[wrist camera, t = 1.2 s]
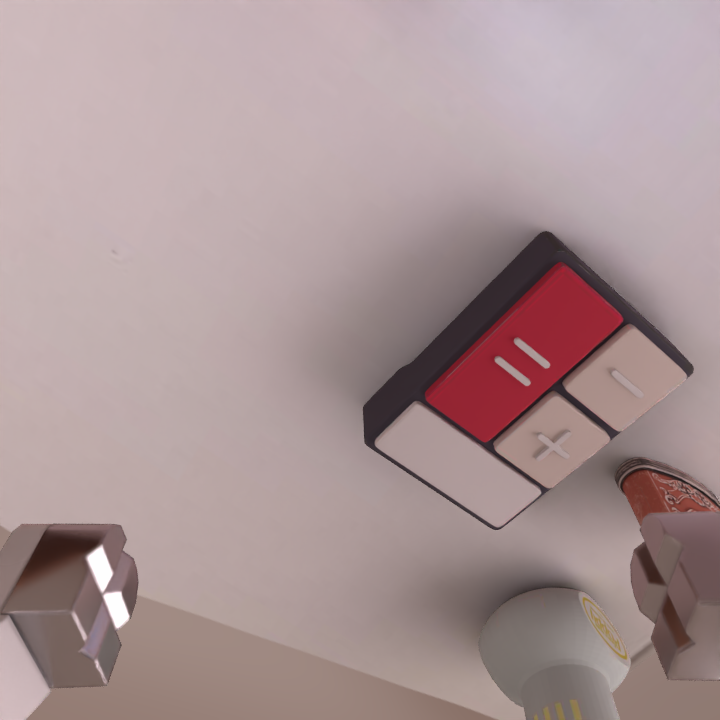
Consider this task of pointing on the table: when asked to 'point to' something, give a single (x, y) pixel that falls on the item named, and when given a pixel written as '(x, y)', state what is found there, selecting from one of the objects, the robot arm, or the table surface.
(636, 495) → the lighter
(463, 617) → the table surface
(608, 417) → the calculator
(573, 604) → the air freshener
